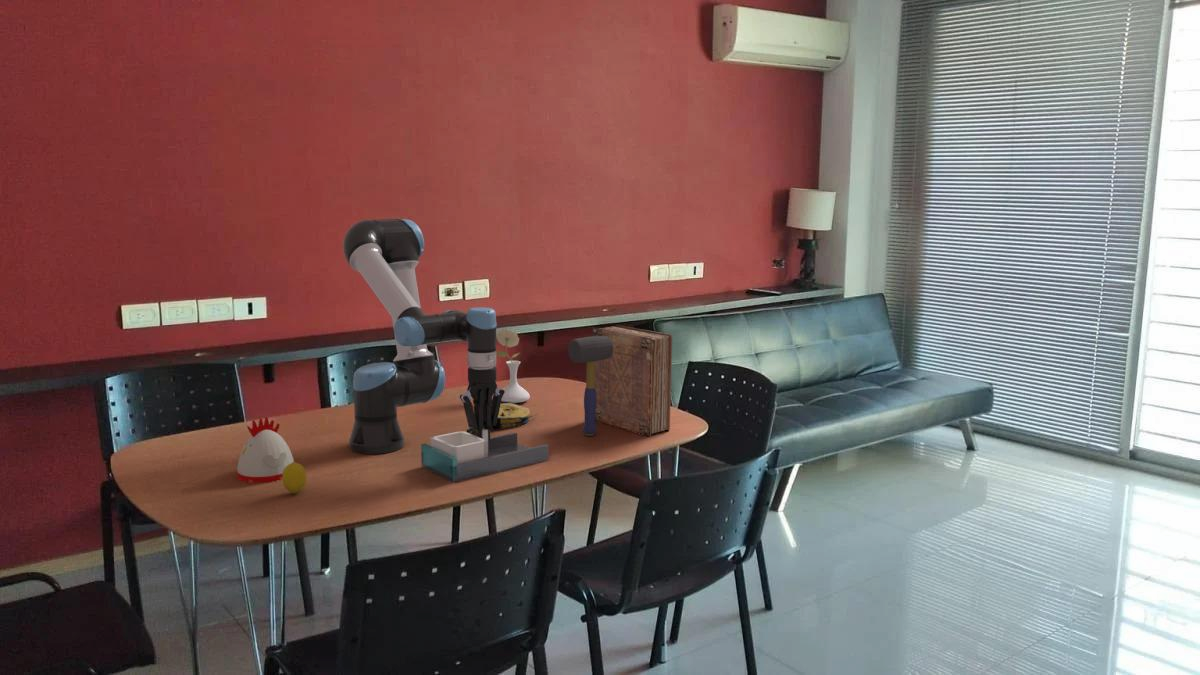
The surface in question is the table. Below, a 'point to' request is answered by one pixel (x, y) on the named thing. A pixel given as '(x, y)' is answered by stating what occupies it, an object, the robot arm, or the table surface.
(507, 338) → the flower in vase
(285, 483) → the lemon
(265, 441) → the kitchen timer
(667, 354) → the book
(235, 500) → the table surface
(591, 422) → the rubber mallet
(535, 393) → the table surface
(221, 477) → the table surface
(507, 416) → the pulley block
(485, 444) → the crate
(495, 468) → the bay
